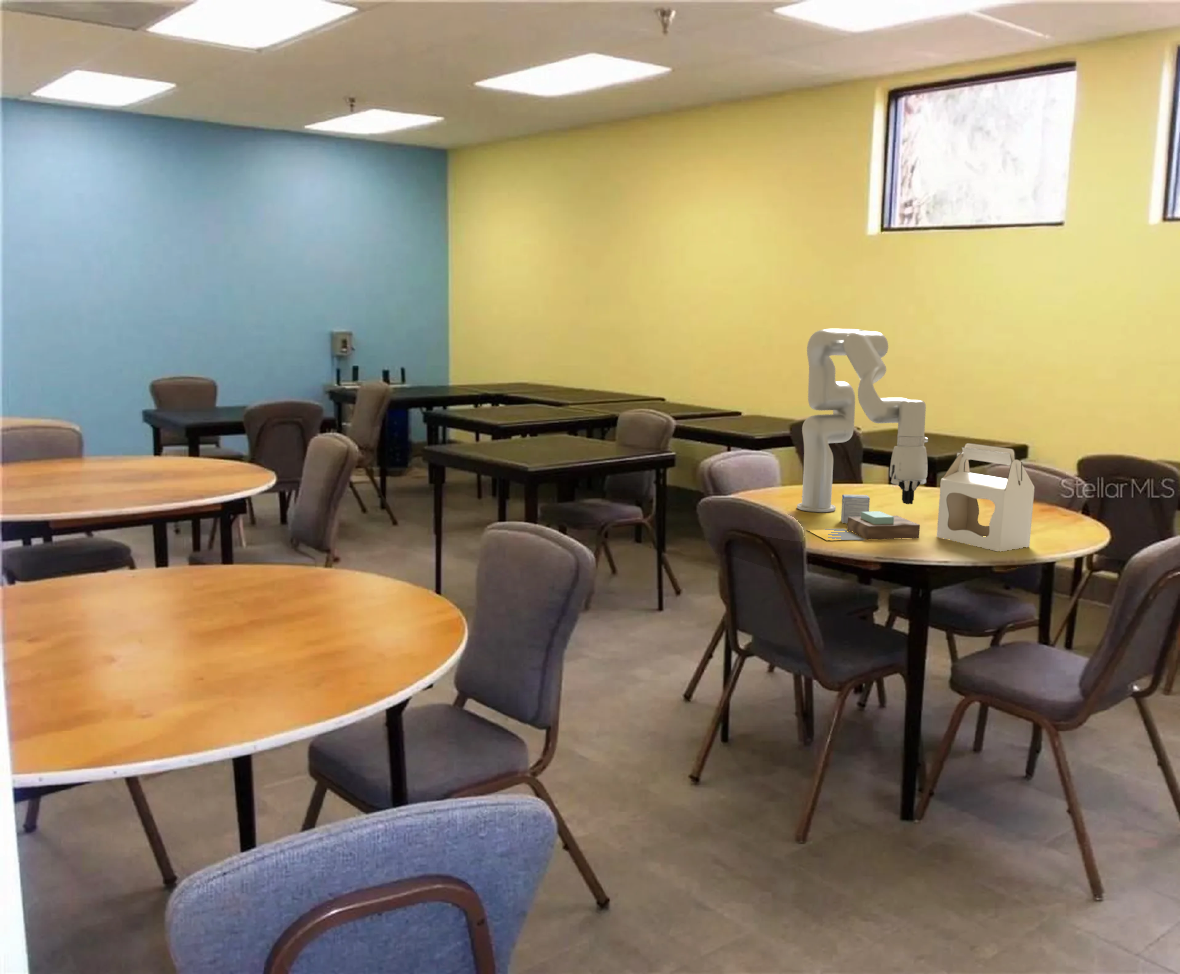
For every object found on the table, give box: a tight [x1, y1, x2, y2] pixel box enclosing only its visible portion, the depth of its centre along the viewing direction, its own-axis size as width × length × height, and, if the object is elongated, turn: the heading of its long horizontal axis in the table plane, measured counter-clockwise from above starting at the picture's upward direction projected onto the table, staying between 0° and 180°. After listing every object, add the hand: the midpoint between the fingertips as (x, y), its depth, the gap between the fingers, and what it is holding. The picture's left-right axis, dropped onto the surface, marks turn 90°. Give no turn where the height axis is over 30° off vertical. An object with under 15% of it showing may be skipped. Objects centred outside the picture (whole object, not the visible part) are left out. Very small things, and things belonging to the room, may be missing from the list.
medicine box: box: [840, 494, 871, 525], centre depth 320 cm, size 8×4×9 cm, turn 84°
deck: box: [846, 515, 921, 540], centre depth 304 cm, size 14×16×4 cm
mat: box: [824, 528, 867, 541], centre depth 302 cm, size 15×12×1 cm
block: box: [861, 510, 894, 524], centre depth 303 cm, size 9×6×2 cm, turn 11°
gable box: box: [936, 442, 1036, 553], centre depth 293 cm, size 22×13×28 cm, turn 32°
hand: (907, 503), depth 304 cm, fingers closed
